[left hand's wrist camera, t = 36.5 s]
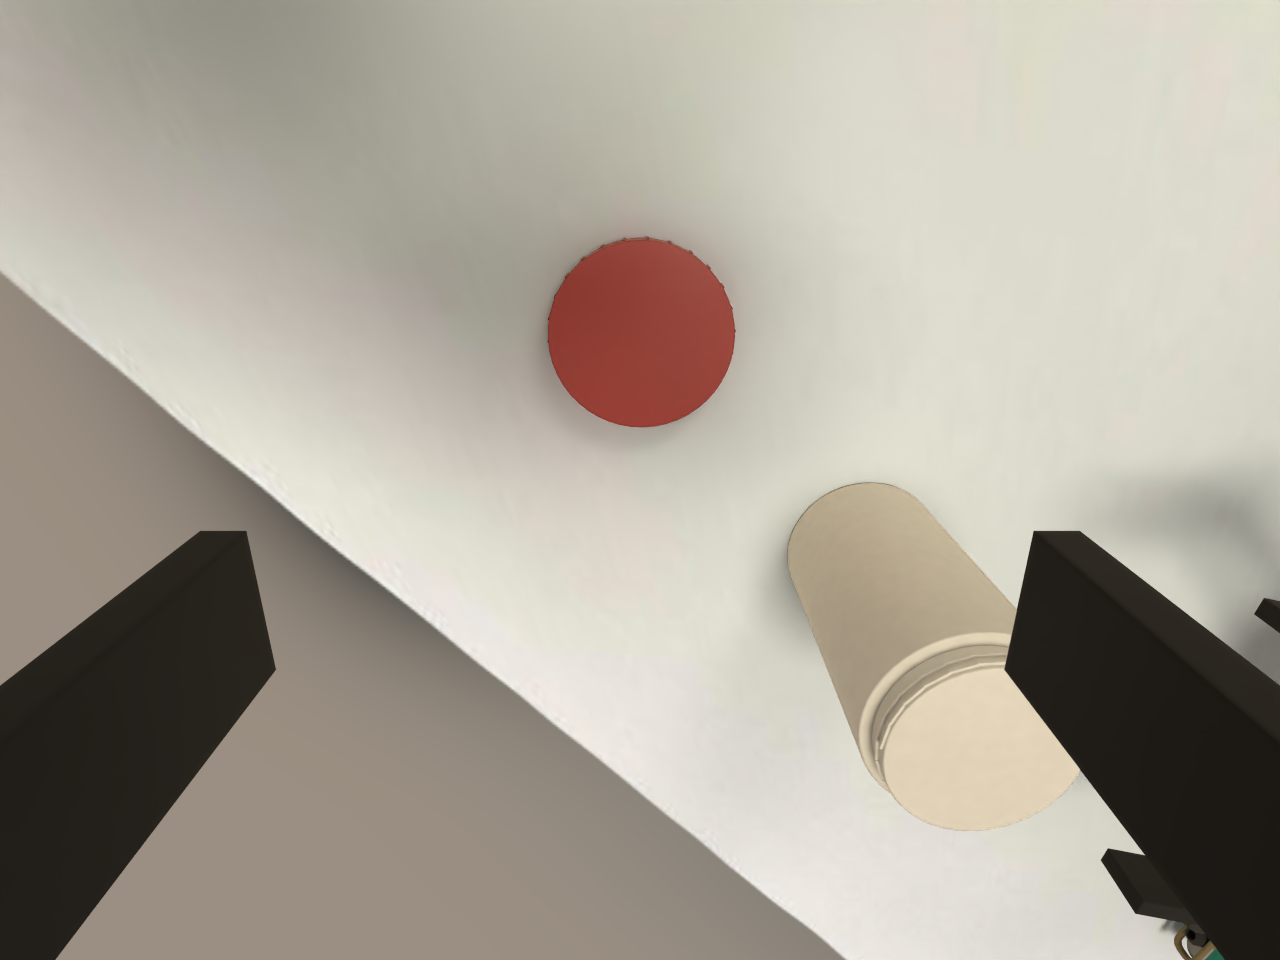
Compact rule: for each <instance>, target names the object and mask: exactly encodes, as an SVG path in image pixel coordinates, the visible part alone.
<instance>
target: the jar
mask: <svg viewBox="0 0 1280 960" xmlns="http://www.w3.org/2000/svg"><path fill="white" fill-rule="evenodd" d="M787 559H788V568H789V572H790V575H791V578H792V580H793V583H794V586H795V588H796V591H797V593H798V596H799V598H800V601H801V603H802V606H803V609H804V611H805V614H806V616H807V619H808V621H809V624H810V626H811V629H812V632H813V634H814V637H815V639H816V642H817V644H818V647H819V649H820V652H821V655H822V657H823V660H824V662H825V665H826V667H827V670H828V672H829V675H830V678H831V680H832V683H833V685H834V688H835V690H836V693H837V695H838V698H839V701H840V703H841V706H842V708H843V711H844V713H845V716H846V718H847V721H848V724H849V726H850V729H851V731H852V734H853V736H854V739H855V741H856V744H857V747H858V749H859V752H860V754H861V757H862V759H863V761H864V764H865V766H866V768H867V769H868V771H869V772H870V774H871V776H872V777H873V778H874V779H875V780H876V781H877V782H878V783H879V784H880V785H881V786H882V787H883V788H884V789H886V790H887V791H888V792H889V793H891V794H892V796H893V797H894V799H895V800H896V801H897V802H898V803H899V804H900V805H901V806H902V807H903V808H904V809H905V810H907V811H908V812H909V813H910V814H912V815H913V816H915V817H917V818H918V819H920V820H922V821H924V822H926V823H929V824H931V825H934V826H938V827H941V828H946V829H951V830H961V831H979V830H988V829H994V828H999V827H1003V826H1007V825H1010V824H1013V823H1016V822H1019V821H1021V820H1024V819H1026V818H1028V817H1030V816H1032V815H1034V814H1036V813H1038V812H1040V811H1041V810H1043V809H1044V808H1046V807H1047V806H1049V805H1050V804H1051V803H1053V802H1054V801H1055V800H1056V799H1057V798H1059V797H1060V796H1061V795H1062V794H1063V793H1064V792H1065V791H1066V790H1067V789H1068V788H1069V787H1070V785H1071V784H1072V783H1073V781H1074V780H1075V779H1076V777H1077V776H1078V774H1079V772H1080V769H1079V767H1078V766H1077V765H1076V763H1075V762H1074V761H1073V760H1072V758H1071V757H1070V756H1069V754H1068V753H1067V752H1066V750H1065V749H1064V748H1063V746H1062V745H1061V744H1060V742H1059V741H1058V740H1057V738H1056V737H1055V736H1054V735H1053V733H1052V732H1051V731H1050V729H1049V728H1048V727H1047V725H1046V724H1045V723H1044V721H1043V720H1042V719H1041V717H1040V716H1039V715H1038V714H1037V712H1036V711H1035V710H1034V708H1033V707H1032V706H1031V704H1030V703H1029V702H1028V700H1027V699H1026V698H1025V696H1024V695H1023V694H1022V692H1021V691H1020V690H1019V689H1018V687H1017V686H1016V685H1015V683H1014V682H1013V681H1012V679H1011V678H1010V677H1009V675H1008V674H1007V673H1006V671H1005V670H1004V668H1005V663H1006V659H1007V654H1008V649H1009V645H1010V640H1011V635H1012V631H1013V626H1014V621H1015V617H1016V612H1017V609H1016V608H1015V607H1014V606H1013V605H1012V604H1011V602H1010V601H1009V600H1008V599H1007V598H1006V597H1005V596H1004V595H1003V594H1002V592H1001V591H1000V590H999V589H998V588H997V587H996V586H995V585H994V584H993V582H992V581H991V580H990V579H989V578H988V577H987V576H986V575H985V574H984V572H983V571H982V570H981V569H980V568H979V567H978V566H977V565H976V564H975V562H974V561H973V560H972V559H971V558H970V557H969V556H968V555H967V554H966V552H965V551H964V550H963V549H962V548H961V547H960V546H959V545H958V544H957V542H956V541H955V540H954V539H953V538H952V537H951V536H950V535H949V534H948V532H947V531H946V530H945V529H944V528H943V527H942V526H941V525H940V524H939V522H938V521H937V520H936V519H935V518H934V517H933V516H932V515H931V514H930V512H929V511H928V510H927V509H926V508H925V507H924V506H923V505H922V504H921V503H920V502H919V501H918V500H917V499H916V498H915V497H913V496H912V495H911V494H909V493H907V492H905V491H904V490H902V489H899V488H896V487H894V486H890V485H886V484H879V483H861V484H854V485H850V486H846V487H842V488H840V489H837V490H835V491H833V492H831V493H829V494H827V495H825V496H824V497H822V498H821V499H819V500H818V501H816V502H815V503H814V504H813V505H812V506H811V507H810V508H809V509H808V510H807V511H806V512H805V513H804V514H803V515H802V517H801V518H800V520H799V521H798V523H797V524H796V526H795V528H794V530H793V532H792V535H791V538H790V541H789V546H788V556H787Z"/></svg>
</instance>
